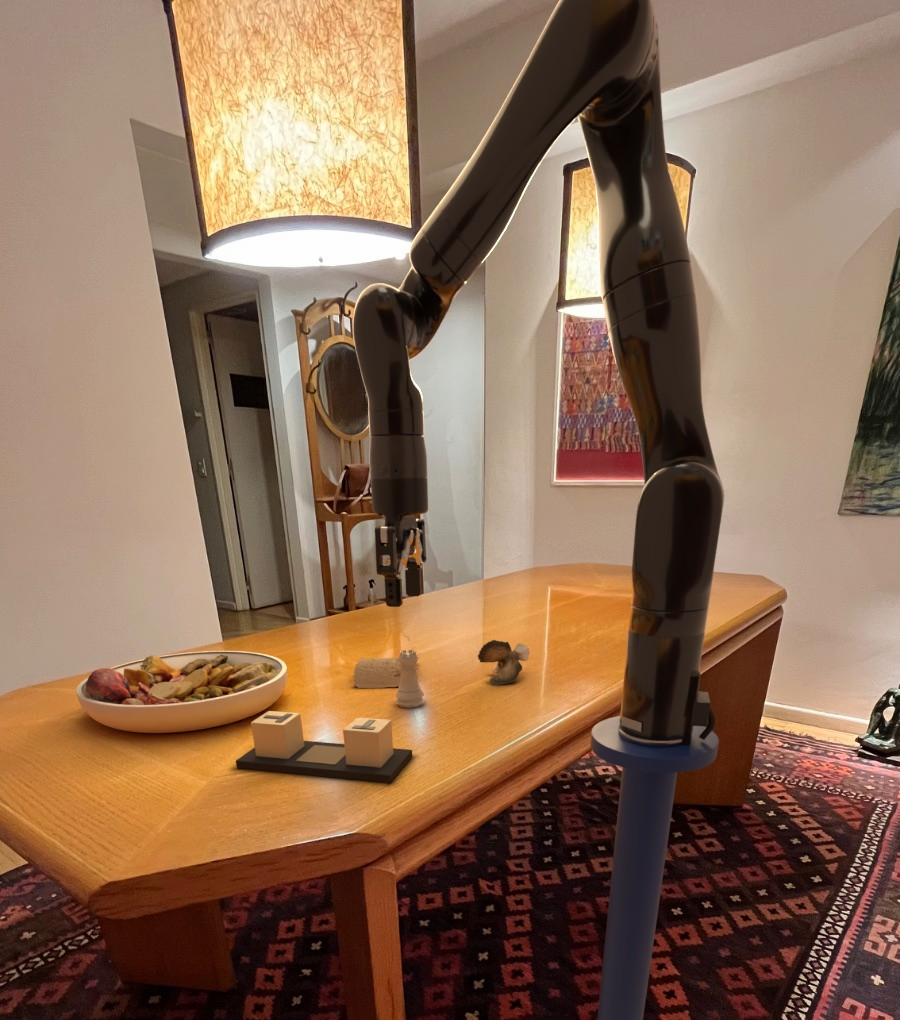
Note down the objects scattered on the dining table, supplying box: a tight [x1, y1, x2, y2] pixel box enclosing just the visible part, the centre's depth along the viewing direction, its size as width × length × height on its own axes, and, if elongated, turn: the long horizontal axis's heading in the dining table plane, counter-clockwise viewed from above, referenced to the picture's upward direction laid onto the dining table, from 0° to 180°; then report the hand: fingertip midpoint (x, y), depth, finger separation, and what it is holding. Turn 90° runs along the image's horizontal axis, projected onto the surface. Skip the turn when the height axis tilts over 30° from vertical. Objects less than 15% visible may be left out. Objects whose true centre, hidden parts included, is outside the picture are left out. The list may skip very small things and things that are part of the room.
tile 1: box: [250, 710, 305, 759], centre depth 83 cm, size 4×4×4 cm
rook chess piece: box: [395, 649, 426, 709], centre depth 101 cm, size 4×4×8 cm
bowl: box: [75, 650, 289, 734], centre depth 103 cm, size 30×30×8 cm
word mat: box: [235, 740, 413, 784], centre depth 83 cm, size 20×8×1 cm, turn 75°
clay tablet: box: [353, 657, 401, 689], centre depth 117 cm, size 14×10×3 cm
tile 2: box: [342, 717, 394, 768], centre depth 80 cm, size 4×4×4 cm
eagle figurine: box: [477, 639, 530, 686], centre depth 113 cm, size 8×7×9 cm
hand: (404, 600), depth 96 cm, fingers open, 8 cm apart
